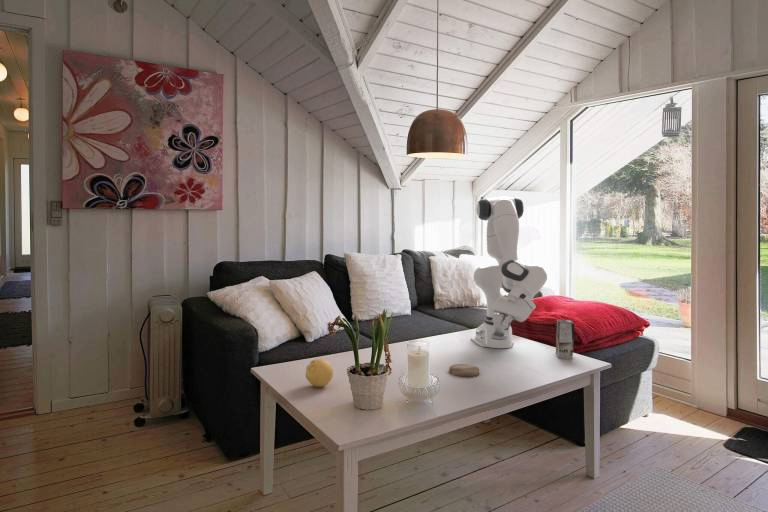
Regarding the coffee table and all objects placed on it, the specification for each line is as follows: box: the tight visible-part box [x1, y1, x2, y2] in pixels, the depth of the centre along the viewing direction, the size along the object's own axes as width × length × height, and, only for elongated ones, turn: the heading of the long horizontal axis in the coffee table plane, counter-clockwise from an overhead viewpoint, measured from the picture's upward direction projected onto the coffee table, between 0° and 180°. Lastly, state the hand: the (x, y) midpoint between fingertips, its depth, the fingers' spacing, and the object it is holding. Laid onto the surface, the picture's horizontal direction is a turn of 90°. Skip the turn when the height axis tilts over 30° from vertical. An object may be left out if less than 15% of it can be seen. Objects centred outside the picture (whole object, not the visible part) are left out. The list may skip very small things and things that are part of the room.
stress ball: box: [305, 358, 334, 388], centre depth 184 cm, size 10×10×10 cm
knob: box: [491, 313, 507, 340], centre depth 206 cm, size 6×6×10 cm
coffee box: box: [555, 319, 575, 360], centre depth 230 cm, size 9×6×16 cm
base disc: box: [448, 363, 480, 378], centre depth 204 cm, size 12×12×2 cm
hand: (497, 323), depth 206 cm, fingers closed on knob, 4 cm apart
